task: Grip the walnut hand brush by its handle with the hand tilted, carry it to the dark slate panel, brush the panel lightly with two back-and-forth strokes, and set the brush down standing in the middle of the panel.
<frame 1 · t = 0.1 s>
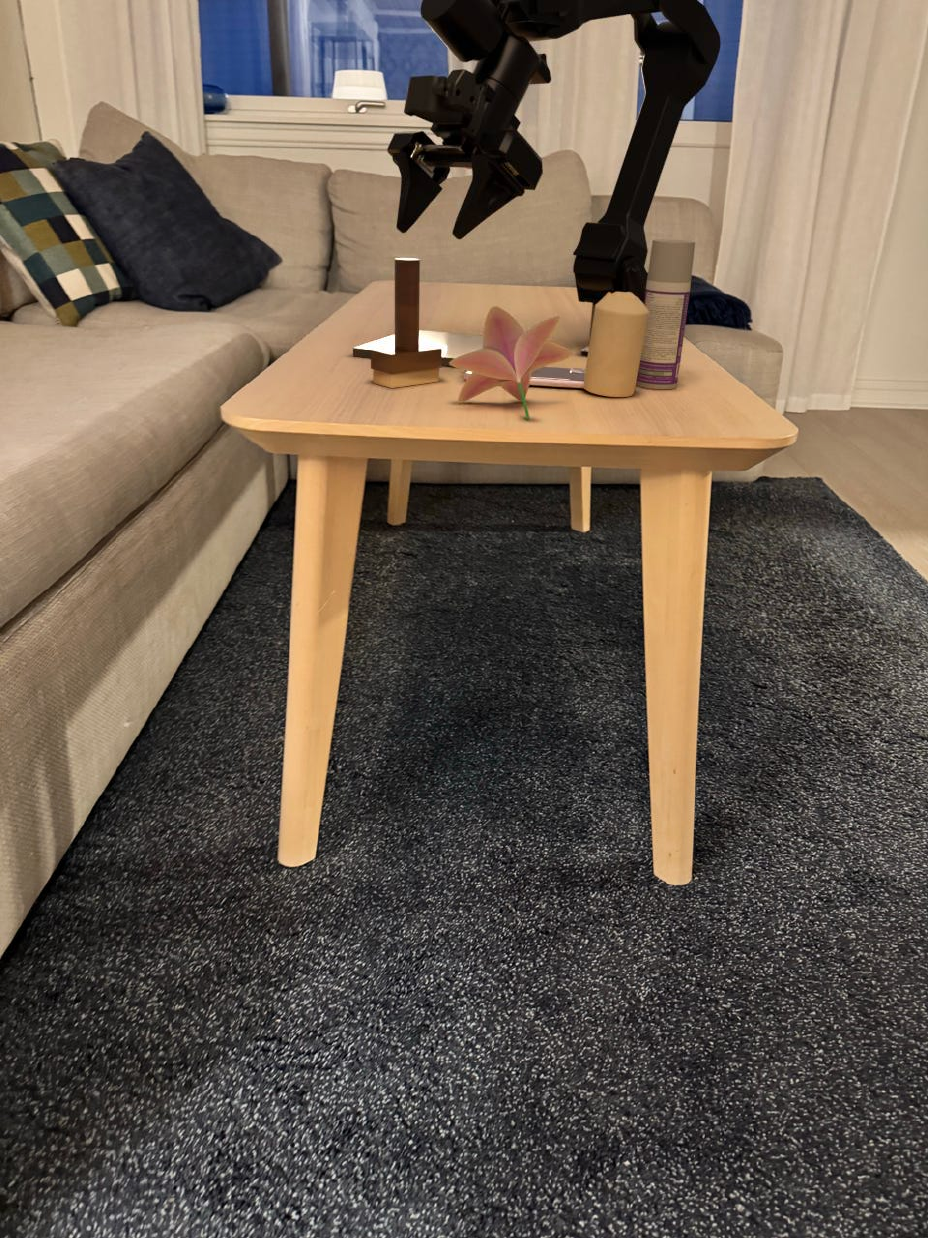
hand: (427, 233, 94), 15 cm above the table, tool tilted 35°, fingers open, 9 cm apart
mobile phone: (533, 380, 102), on the table, touching candle
lily: (509, 411, 89), on the table
brush: (406, 382, 99), on the table
candle: (608, 392, 97), on the table, touching mobile phone
panel: (436, 350, 117), on the table
container: (655, 386, 102), on the table
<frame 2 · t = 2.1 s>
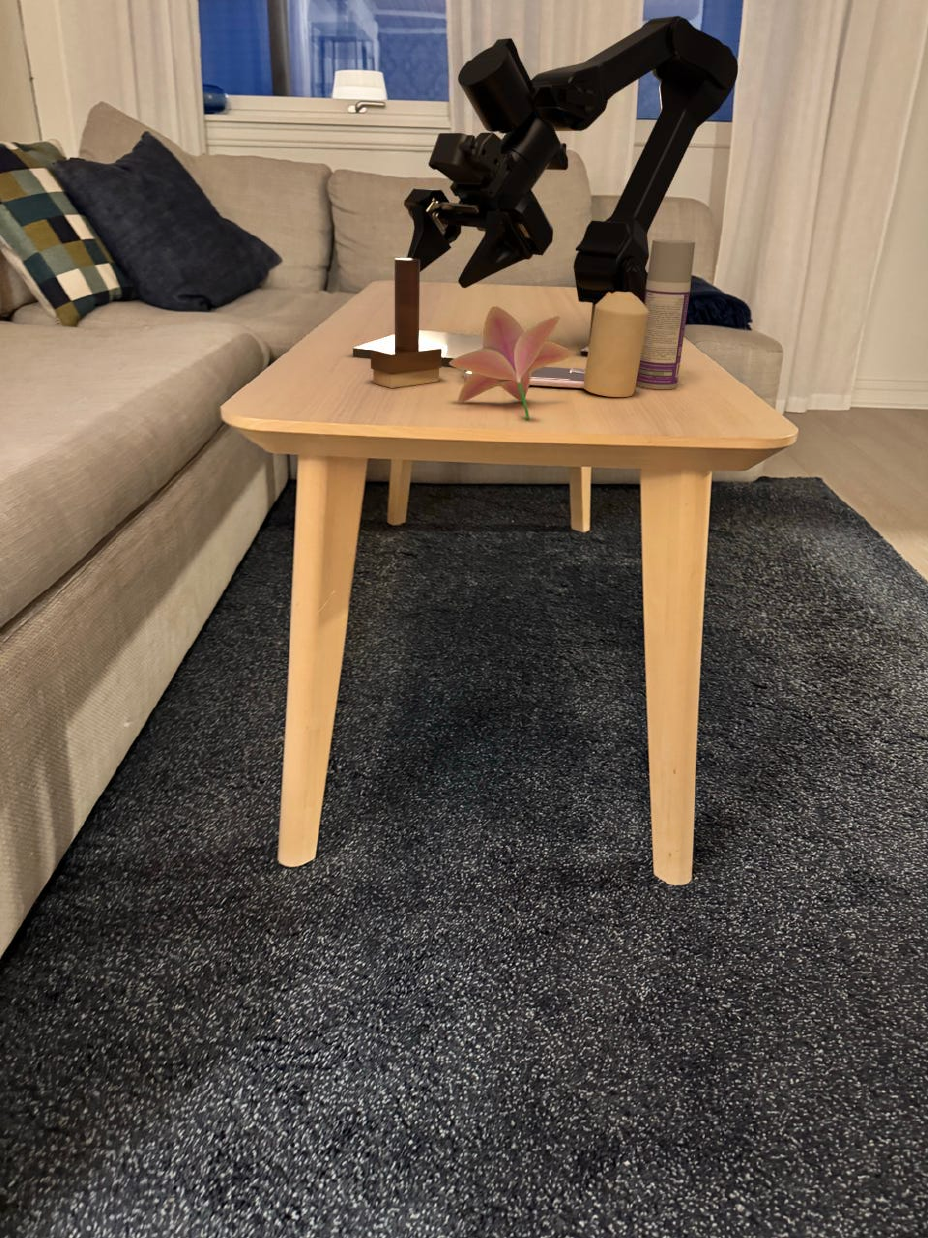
hand: (432, 280, 96), 10 cm above the table, tool tilted 45°, fingers open, 9 cm apart
nothing on the table moved.
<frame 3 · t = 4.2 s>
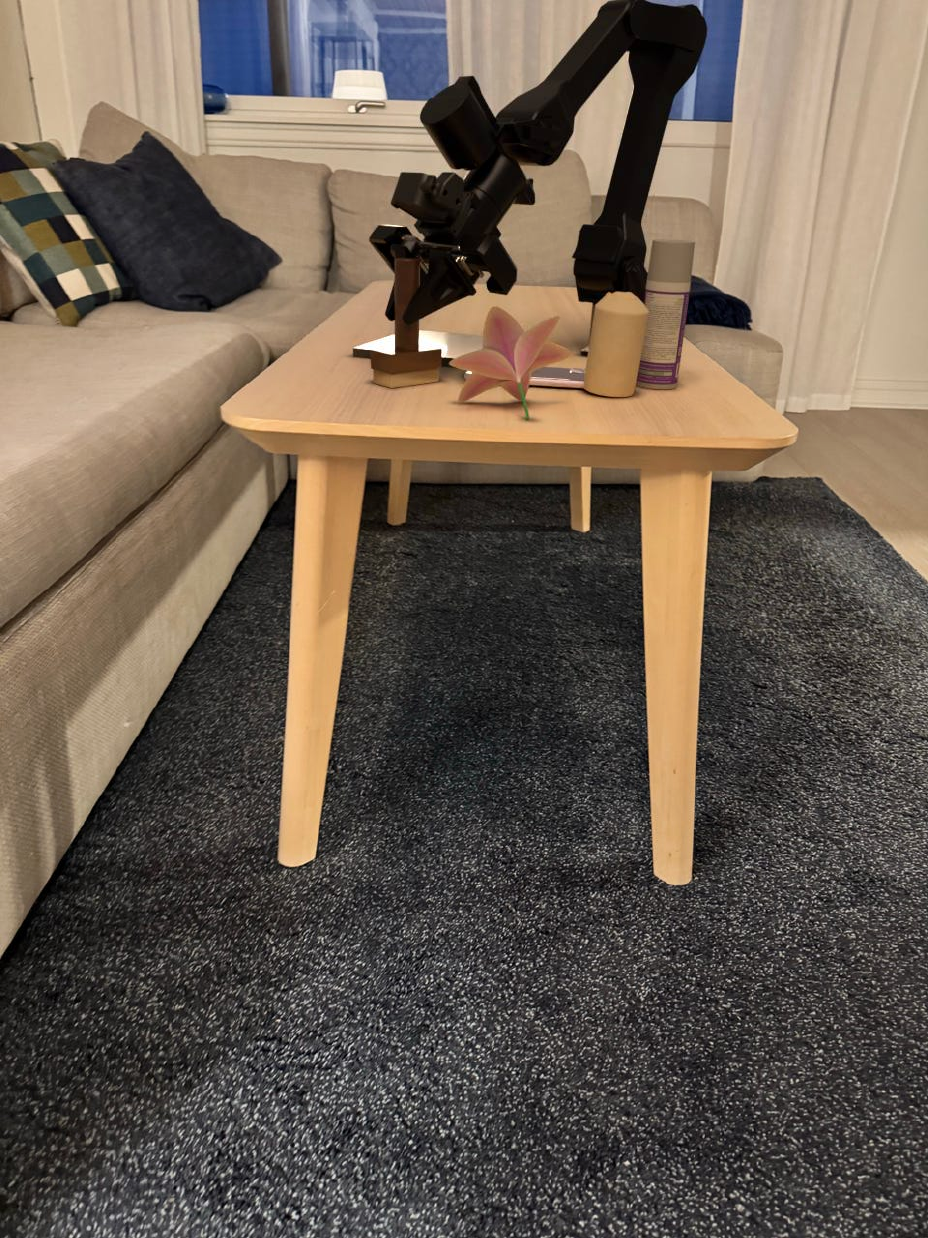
hand: (396, 319, 95), 7 cm above the table, tool tilted 45°, fingers closed on brush, 2 cm apart
brush: (406, 382, 99), on the table, touching gripper
everything else where it was.
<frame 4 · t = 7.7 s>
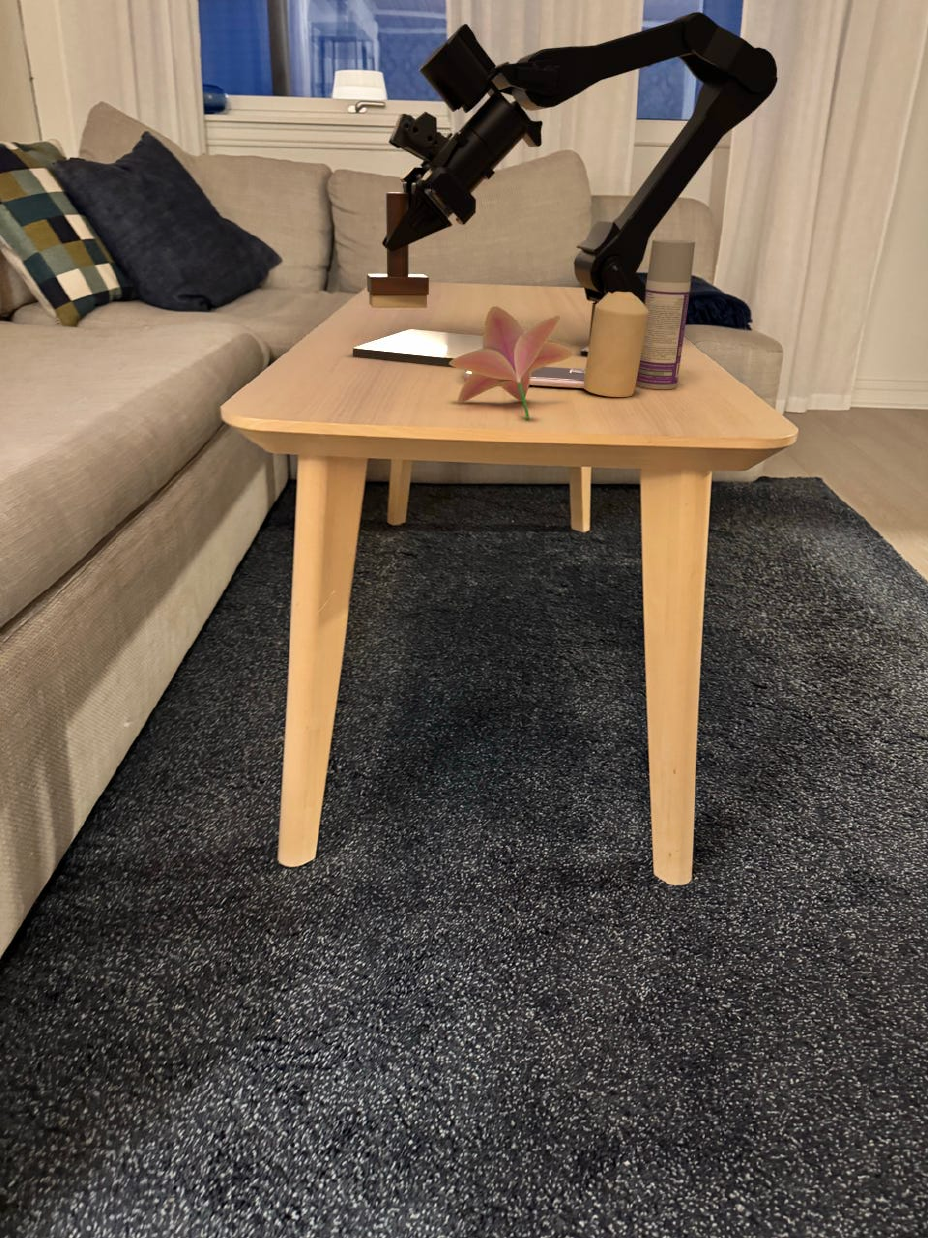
hand: (386, 247, 107), 12 cm above the table, tool tilted 45°, fingers closed on brush, 2 cm apart
brush: (397, 305, 111), point 6 cm above the table, touching gripper
everything else where it was.
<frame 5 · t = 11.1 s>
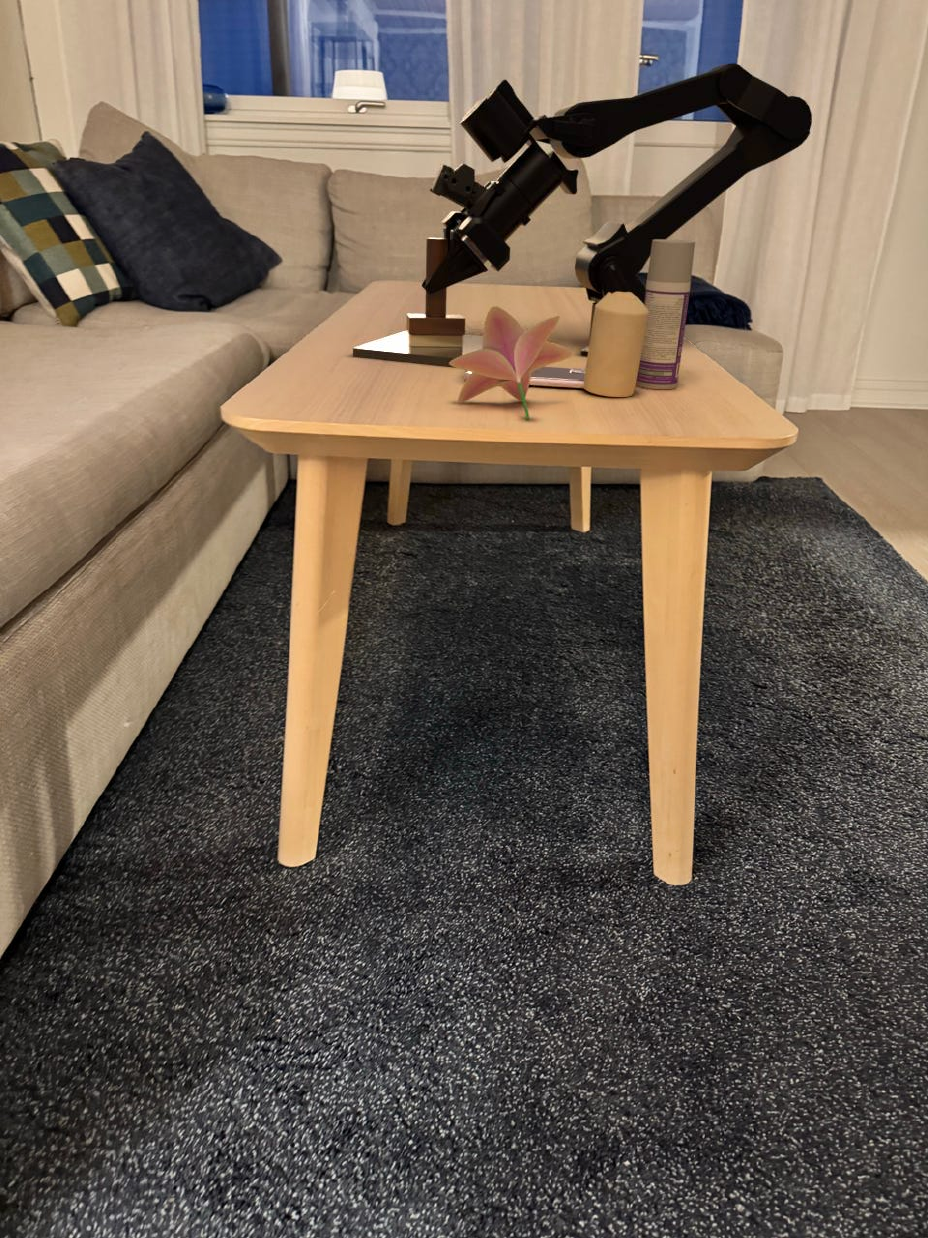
hand: (425, 289, 112), 8 cm above the table, tool tilted 45°, fingers closed on brush, 2 cm apart
brush: (435, 344, 115), point 1 cm above the table, touching gripper
everything else where it was.
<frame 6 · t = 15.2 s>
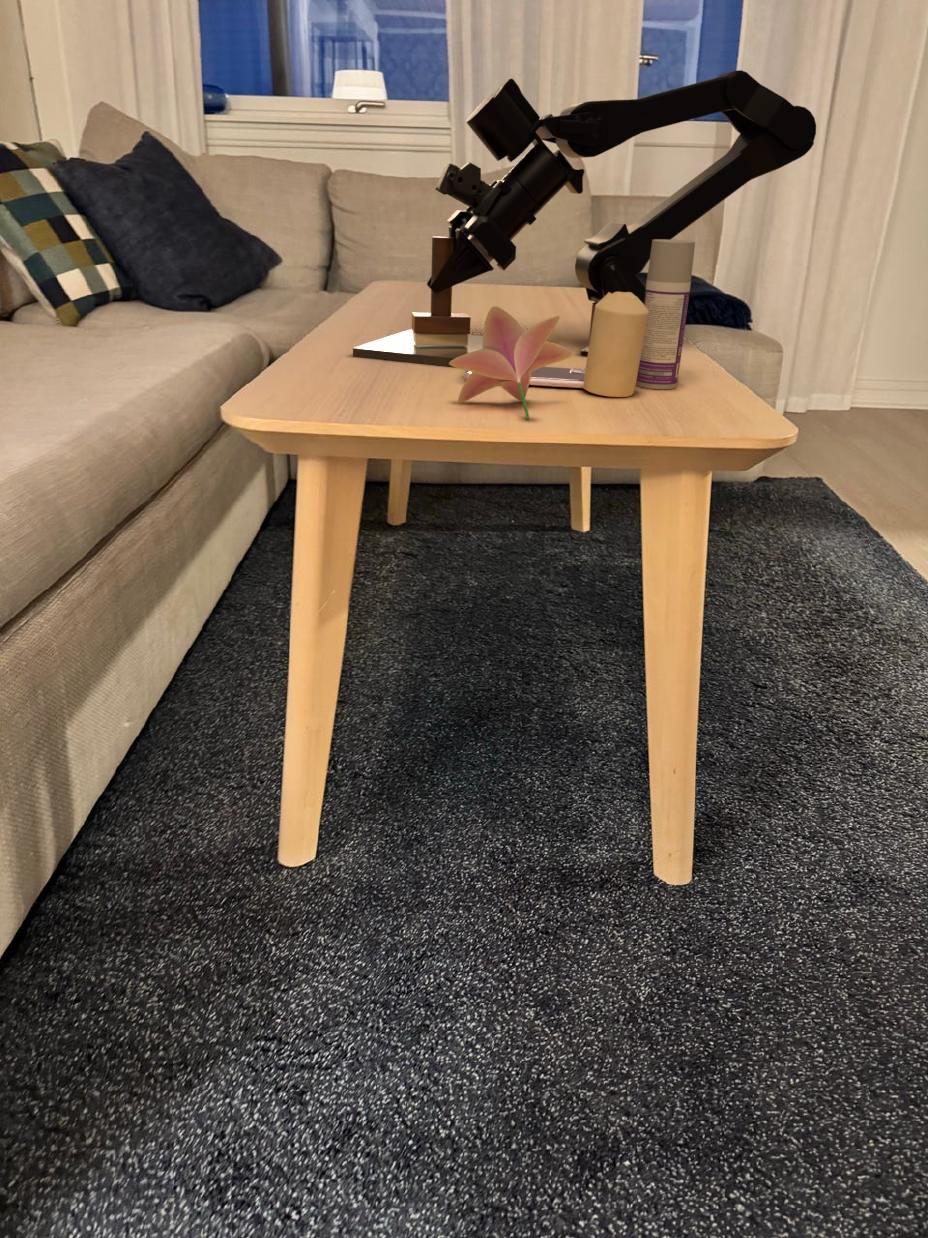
hand: (430, 288, 112), 8 cm above the table, tool tilted 45°, fingers closed on brush, 2 cm apart
brush: (440, 343, 115), point 1 cm above the table, touching gripper
everything else where it was.
when the fingers open (8 cm above the table, at t = 18.3 s): brush stays where it is, resting on panel.
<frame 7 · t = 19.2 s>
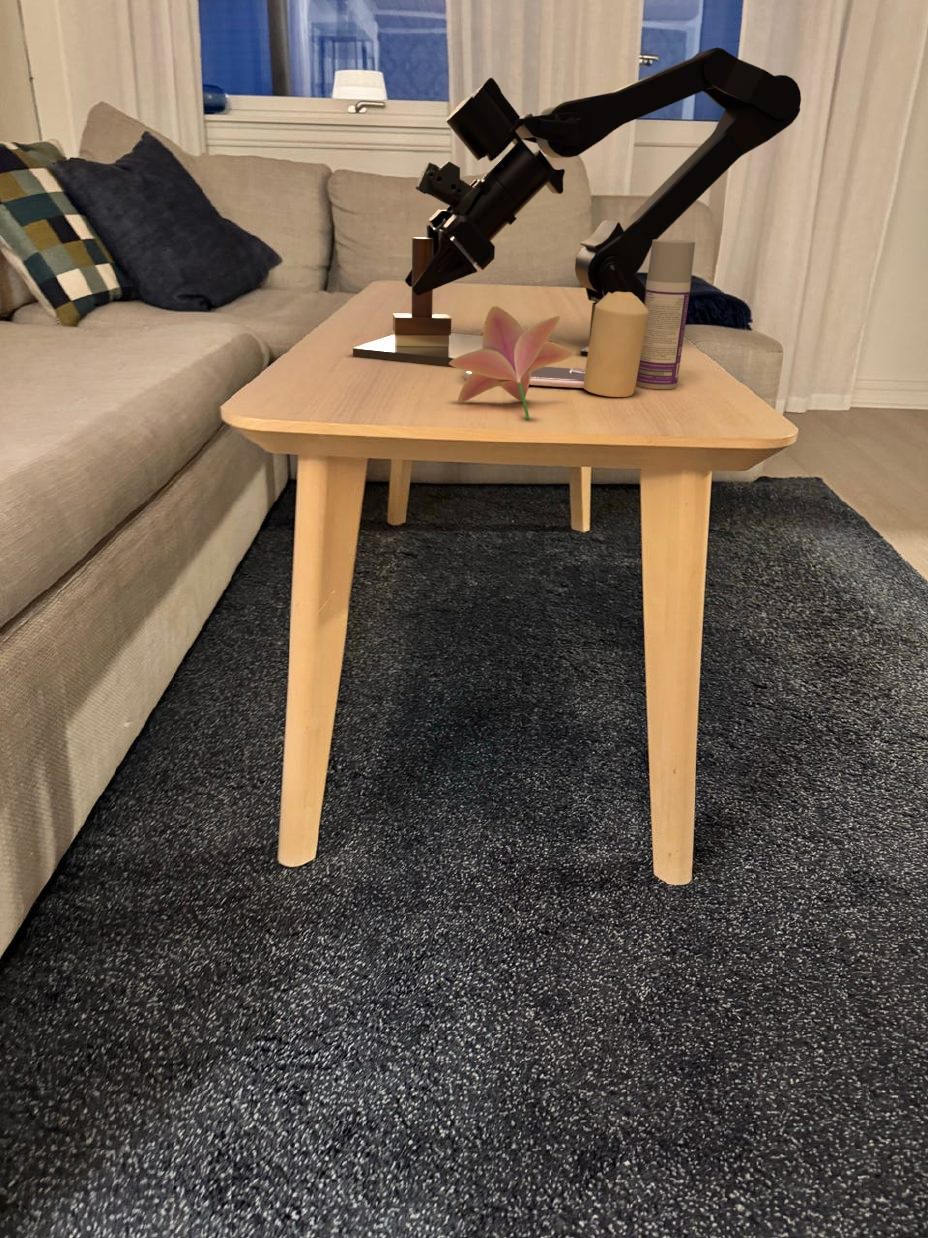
hand: (410, 288, 112), 8 cm above the table, tool tilted 45°, fingers open, 9 cm apart
brush: (421, 344, 115), point 1 cm above the table, touching panel
everything else where it was.
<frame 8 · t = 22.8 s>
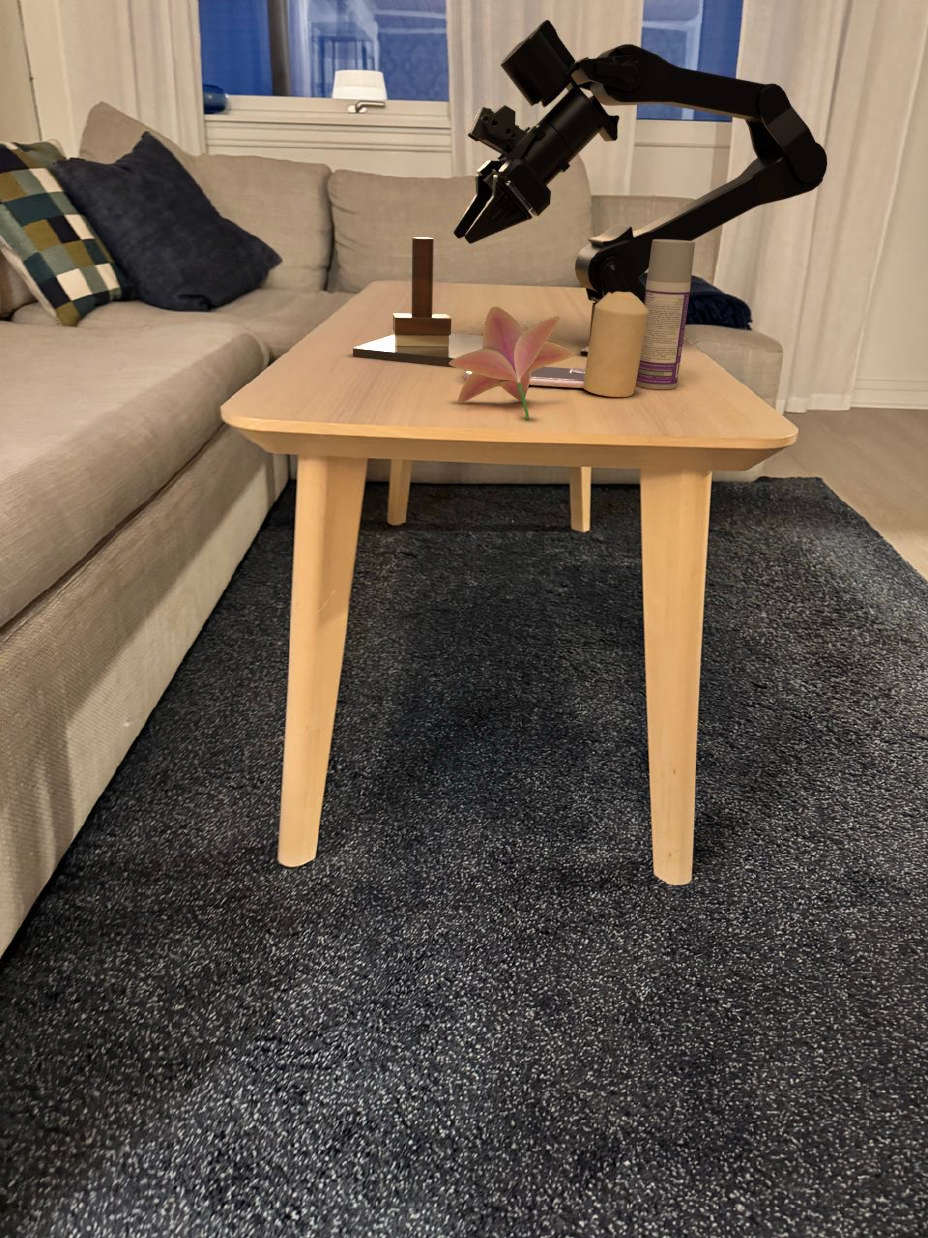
hand: (461, 238, 110), 14 cm above the table, tool tilted 45°, fingers open, 9 cm apart
nothing on the table moved.
at the end: brush inside the target area on the panel (2.1 cm from its centre), point 1.0 cm above the panel's base; brush tilted 0°; brush moved 18.7 cm from its start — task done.
